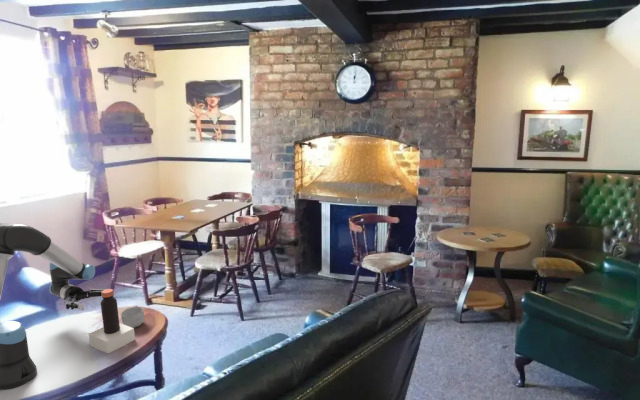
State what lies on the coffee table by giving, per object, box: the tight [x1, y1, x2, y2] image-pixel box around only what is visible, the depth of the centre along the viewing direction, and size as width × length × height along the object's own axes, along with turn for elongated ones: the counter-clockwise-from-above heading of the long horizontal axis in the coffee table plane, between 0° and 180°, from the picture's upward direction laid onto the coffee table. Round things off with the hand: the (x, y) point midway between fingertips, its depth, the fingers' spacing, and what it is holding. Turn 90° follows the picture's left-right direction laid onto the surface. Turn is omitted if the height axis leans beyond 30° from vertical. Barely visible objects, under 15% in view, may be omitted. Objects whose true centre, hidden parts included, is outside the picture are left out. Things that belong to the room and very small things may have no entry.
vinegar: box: [100, 288, 120, 334], centre depth 201 cm, size 7×7×20 cm
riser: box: [88, 322, 136, 354], centre depth 203 cm, size 14×14×6 cm
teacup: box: [119, 305, 145, 329], centre depth 222 cm, size 14×11×8 cm
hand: (96, 302), depth 205 cm, fingers open, 13 cm apart
